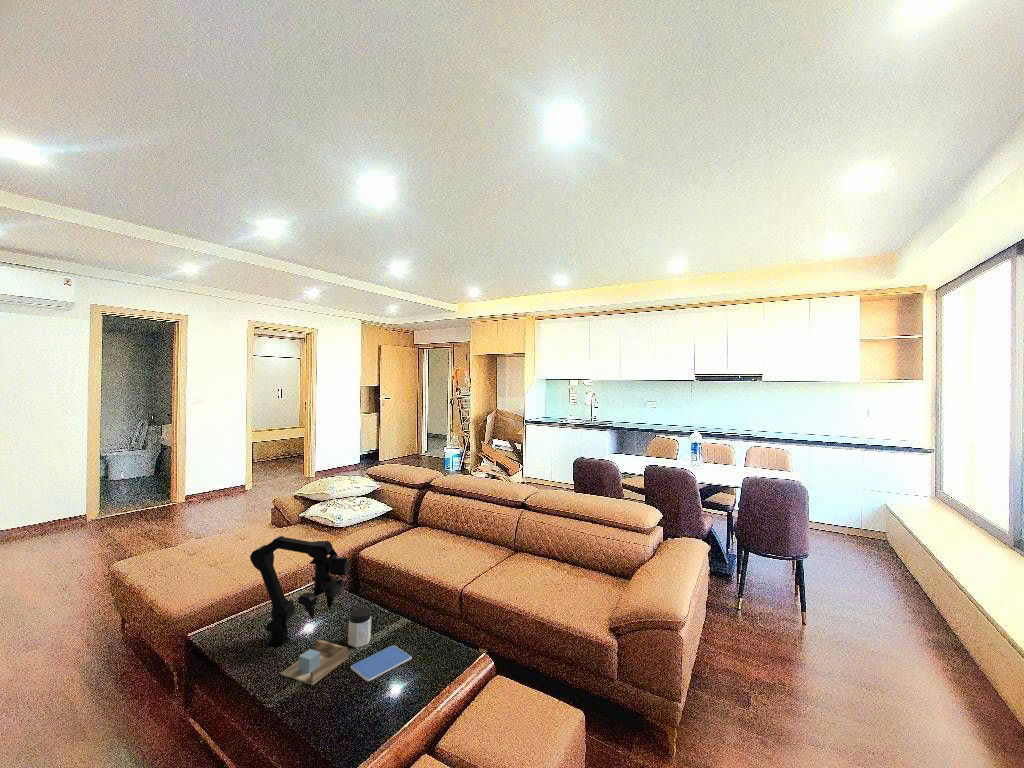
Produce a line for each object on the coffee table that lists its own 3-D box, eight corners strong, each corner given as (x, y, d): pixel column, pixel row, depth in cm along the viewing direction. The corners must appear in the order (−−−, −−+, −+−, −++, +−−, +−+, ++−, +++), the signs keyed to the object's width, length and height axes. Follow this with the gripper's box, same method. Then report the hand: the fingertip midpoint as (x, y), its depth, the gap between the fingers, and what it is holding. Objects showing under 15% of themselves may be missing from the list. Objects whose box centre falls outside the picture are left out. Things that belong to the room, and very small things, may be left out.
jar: (350, 649, 173) (351, 619, 174) (345, 640, 180) (346, 610, 181) (373, 643, 178) (374, 613, 179) (367, 634, 185) (368, 605, 185)
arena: (280, 674, 157) (280, 663, 157) (317, 649, 173) (317, 639, 173) (312, 685, 152) (312, 673, 152) (347, 658, 168) (347, 647, 168)
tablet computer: (393, 647, 177) (393, 643, 177) (412, 659, 169) (412, 656, 169) (349, 669, 162) (349, 665, 162) (367, 684, 154) (368, 680, 154)
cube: (309, 673, 157) (309, 659, 157) (298, 670, 159) (299, 656, 159) (319, 665, 162) (320, 652, 162) (309, 662, 164) (309, 648, 164)
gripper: (320, 586, 167) (318, 628, 166) (354, 569, 184) (352, 606, 184) (297, 581, 171) (296, 622, 170) (333, 564, 188) (332, 601, 188)
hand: (320, 612), depth 178 cm, fingers open, 9 cm apart
